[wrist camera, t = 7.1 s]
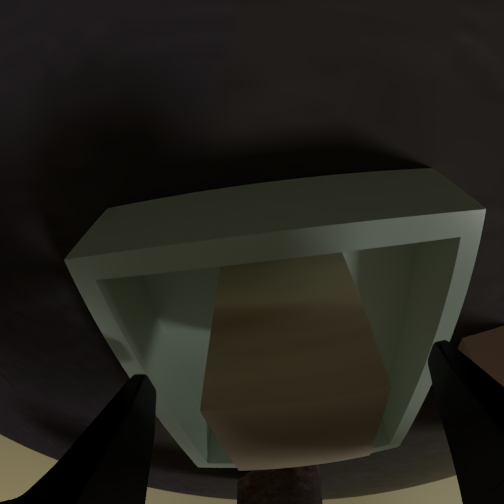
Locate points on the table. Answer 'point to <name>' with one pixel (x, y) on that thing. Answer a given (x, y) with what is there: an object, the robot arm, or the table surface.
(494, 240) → the table surface
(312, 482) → the candle
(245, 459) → the maple block
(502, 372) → the coral block
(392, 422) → the sage tub
